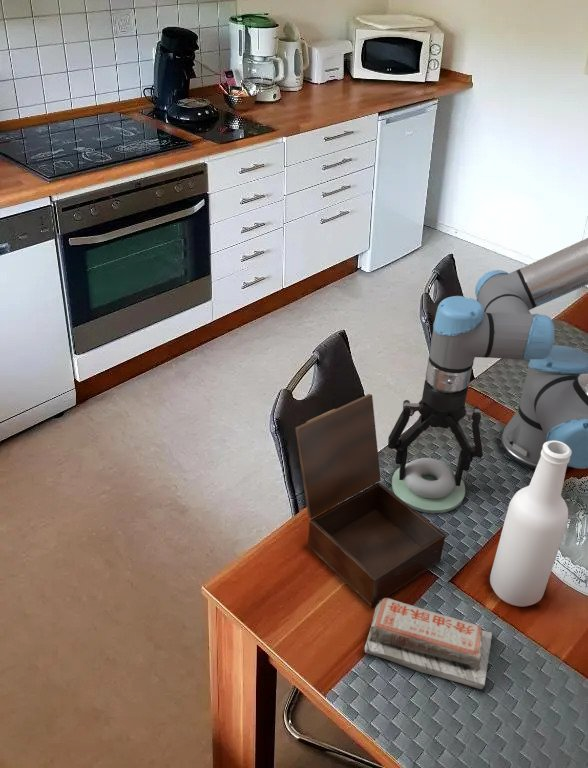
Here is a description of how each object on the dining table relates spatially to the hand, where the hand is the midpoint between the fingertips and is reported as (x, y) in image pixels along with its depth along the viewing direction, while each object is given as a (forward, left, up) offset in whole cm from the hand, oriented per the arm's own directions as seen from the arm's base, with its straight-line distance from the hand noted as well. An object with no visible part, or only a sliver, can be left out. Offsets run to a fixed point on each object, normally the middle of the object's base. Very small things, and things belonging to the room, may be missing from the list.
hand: (429, 478), depth 141 cm
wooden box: (+2, +21, -2) cm, 21 cm away
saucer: (0, 0, -2) cm, 2 cm away
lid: (+11, +17, +13) cm, 24 cm away
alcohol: (-21, +16, -3) cm, 27 cm away
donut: (0, 0, -2) cm, 2 cm away
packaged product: (-12, +34, -3) cm, 36 cm away
